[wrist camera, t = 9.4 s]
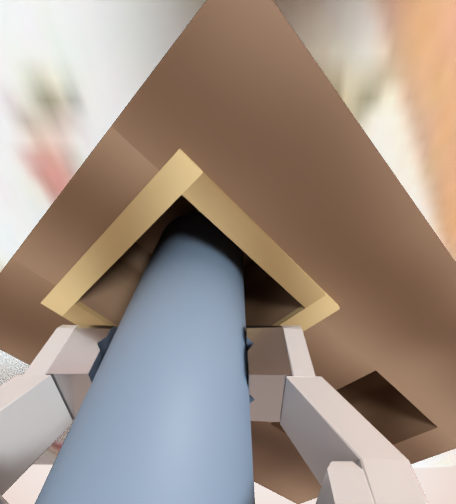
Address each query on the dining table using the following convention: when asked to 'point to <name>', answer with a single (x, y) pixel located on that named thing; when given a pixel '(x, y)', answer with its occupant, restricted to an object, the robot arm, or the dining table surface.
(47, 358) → the robot arm
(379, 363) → the socket block
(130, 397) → the peg
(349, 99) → the dining table surface
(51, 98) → the dining table surface
